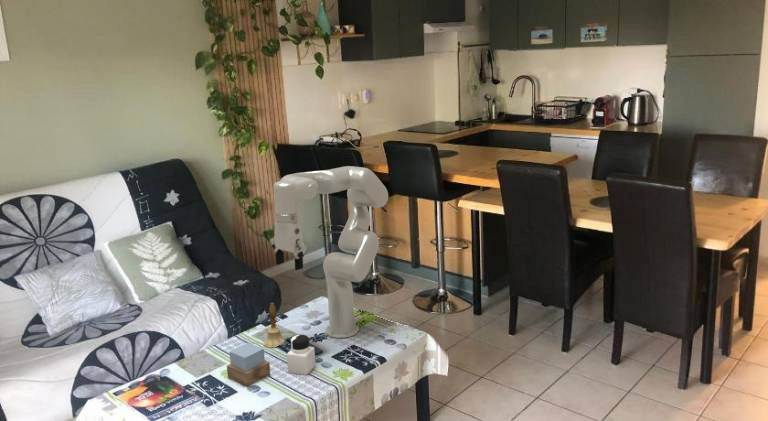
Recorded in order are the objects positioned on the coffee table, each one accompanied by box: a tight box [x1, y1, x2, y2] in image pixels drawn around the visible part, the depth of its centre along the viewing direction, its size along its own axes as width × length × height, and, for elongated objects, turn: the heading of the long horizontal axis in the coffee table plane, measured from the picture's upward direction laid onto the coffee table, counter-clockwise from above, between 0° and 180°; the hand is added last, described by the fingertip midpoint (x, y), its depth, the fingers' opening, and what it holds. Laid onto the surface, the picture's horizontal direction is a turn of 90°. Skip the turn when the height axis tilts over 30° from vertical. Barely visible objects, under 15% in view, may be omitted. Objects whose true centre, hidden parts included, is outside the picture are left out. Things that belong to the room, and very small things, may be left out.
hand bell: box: [263, 302, 286, 349], centre depth 243 cm, size 8×8×16 cm
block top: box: [229, 342, 266, 372], centre depth 220 cm, size 8×8×5 cm
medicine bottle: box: [286, 334, 316, 376], centre depth 224 cm, size 7×7×12 cm
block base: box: [226, 360, 271, 388], centre depth 221 cm, size 10×10×5 cm
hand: (289, 266), depth 224 cm, fingers open, 9 cm apart
